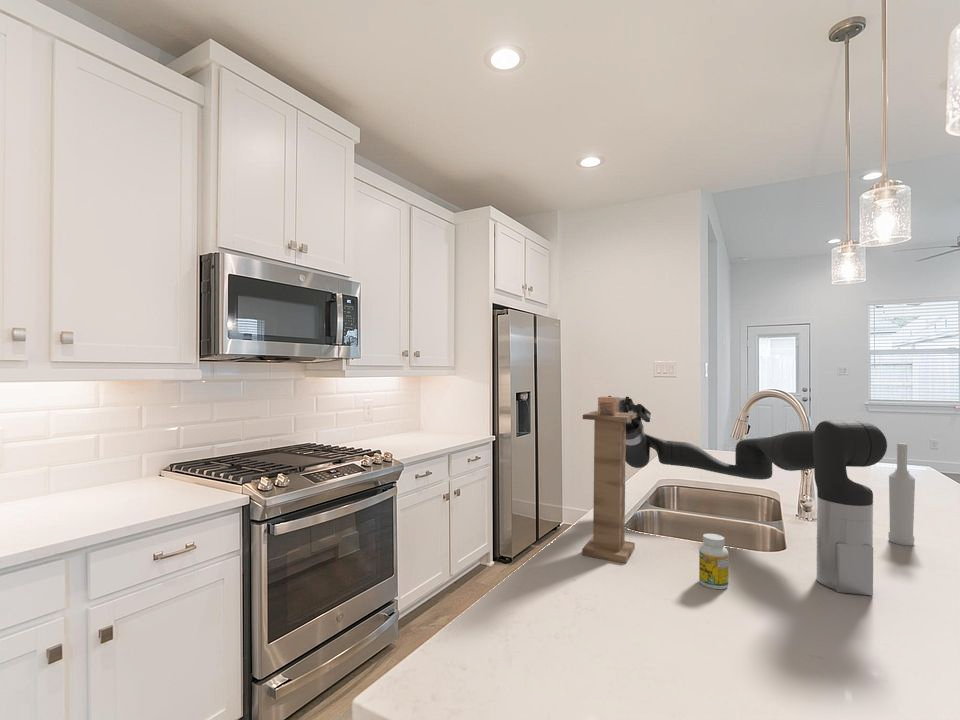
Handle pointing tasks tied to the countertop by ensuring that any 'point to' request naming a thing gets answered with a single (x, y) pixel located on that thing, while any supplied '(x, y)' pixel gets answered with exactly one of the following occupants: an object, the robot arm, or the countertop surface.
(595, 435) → the stand
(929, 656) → the countertop surface
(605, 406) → the orange and blue box
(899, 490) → the bottle
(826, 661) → the countertop surface
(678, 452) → the robot arm
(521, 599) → the countertop surface
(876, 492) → the countertop surface
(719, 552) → the supplement bottle
